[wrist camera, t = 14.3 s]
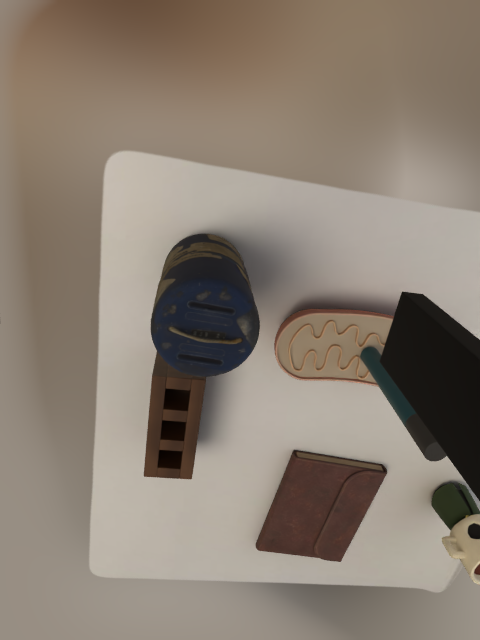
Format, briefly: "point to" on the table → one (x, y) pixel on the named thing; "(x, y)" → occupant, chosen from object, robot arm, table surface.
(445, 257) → the table surface
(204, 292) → the canister
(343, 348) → the anatomical model
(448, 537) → the character mug
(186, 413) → the pen holder
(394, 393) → the pen
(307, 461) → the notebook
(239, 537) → the table surface
